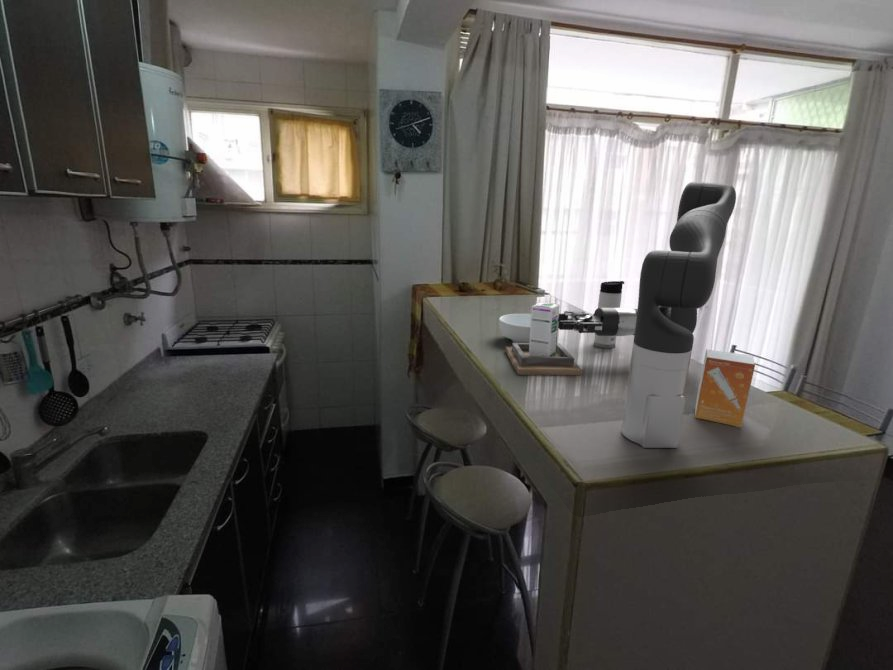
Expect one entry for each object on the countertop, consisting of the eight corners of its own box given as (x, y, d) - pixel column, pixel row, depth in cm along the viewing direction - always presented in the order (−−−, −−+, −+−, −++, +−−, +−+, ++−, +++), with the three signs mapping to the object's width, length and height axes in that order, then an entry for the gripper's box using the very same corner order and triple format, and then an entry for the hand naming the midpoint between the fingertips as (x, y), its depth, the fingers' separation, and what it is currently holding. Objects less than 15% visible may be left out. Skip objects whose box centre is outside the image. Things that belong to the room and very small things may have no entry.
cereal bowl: (492, 345, 137) (493, 322, 135) (503, 332, 152) (505, 311, 150) (549, 351, 131) (551, 328, 129) (555, 337, 147) (557, 316, 145)
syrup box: (548, 362, 117) (553, 307, 113) (527, 358, 120) (531, 304, 116) (556, 356, 122) (560, 304, 118) (535, 352, 125) (539, 301, 121)
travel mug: (617, 349, 135) (626, 282, 130) (594, 347, 136) (602, 281, 131) (614, 343, 141) (622, 279, 136) (592, 341, 142) (599, 278, 137)
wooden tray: (581, 375, 112) (582, 361, 112) (517, 374, 112) (518, 361, 111) (560, 352, 131) (561, 340, 130) (505, 351, 130) (506, 340, 129)
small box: (694, 418, 90) (705, 356, 86) (694, 407, 95) (705, 348, 92) (742, 428, 86) (756, 363, 83) (739, 416, 91) (752, 354, 88)
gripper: (606, 302, 125) (548, 301, 124) (628, 314, 111) (563, 313, 111) (603, 328, 127) (546, 328, 126) (624, 343, 113) (560, 342, 113)
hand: (554, 321), depth 118 cm, fingers open, 8 cm apart
